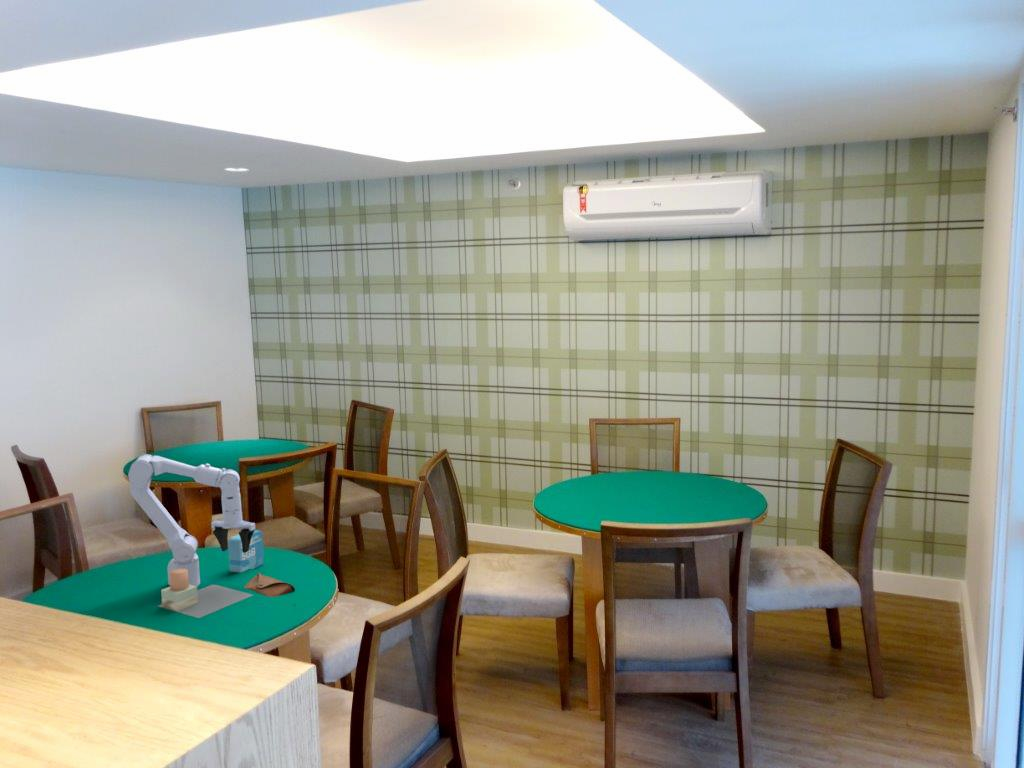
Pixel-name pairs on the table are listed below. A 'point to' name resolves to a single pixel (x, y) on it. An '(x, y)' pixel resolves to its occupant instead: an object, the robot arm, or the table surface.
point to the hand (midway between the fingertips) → (235, 551)
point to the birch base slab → (180, 603)
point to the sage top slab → (179, 594)
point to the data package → (248, 559)
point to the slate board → (212, 600)
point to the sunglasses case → (269, 586)
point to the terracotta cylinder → (178, 579)
